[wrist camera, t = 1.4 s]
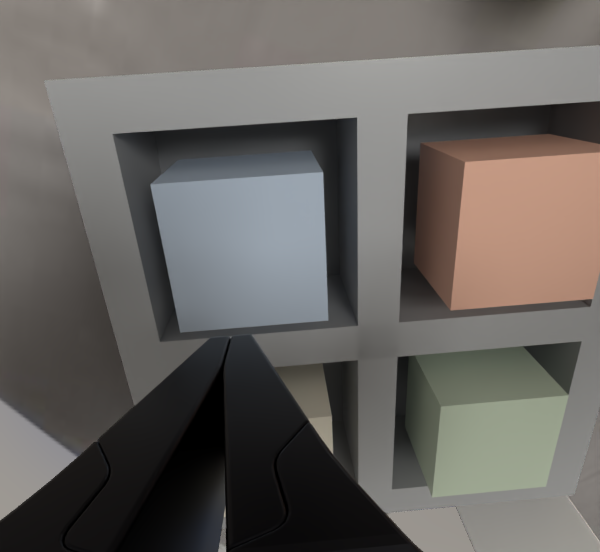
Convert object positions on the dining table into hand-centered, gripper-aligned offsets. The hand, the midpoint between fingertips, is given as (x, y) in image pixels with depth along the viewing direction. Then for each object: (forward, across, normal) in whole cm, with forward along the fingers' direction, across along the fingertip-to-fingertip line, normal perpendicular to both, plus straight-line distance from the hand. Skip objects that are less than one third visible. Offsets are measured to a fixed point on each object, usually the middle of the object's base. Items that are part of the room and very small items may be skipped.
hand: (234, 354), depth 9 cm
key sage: (+10, -9, +9) cm, 16 cm away
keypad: (+12, -4, +5) cm, 14 cm away
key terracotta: (+10, -9, 0) cm, 13 cm away
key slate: (+10, 0, 0) cm, 10 cm away
